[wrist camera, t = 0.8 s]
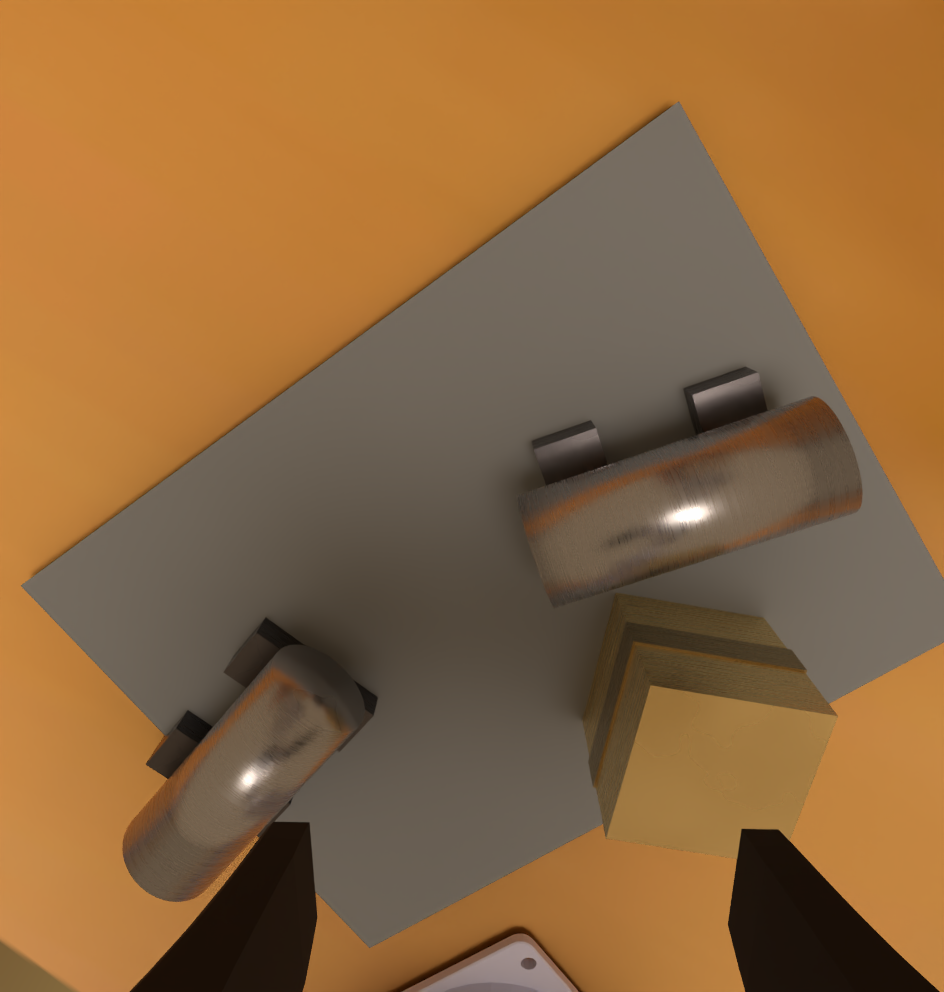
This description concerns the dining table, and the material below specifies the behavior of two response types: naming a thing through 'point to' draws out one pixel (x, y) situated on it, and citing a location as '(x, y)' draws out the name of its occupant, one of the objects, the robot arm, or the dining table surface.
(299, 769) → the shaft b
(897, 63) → the dining table surface
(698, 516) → the shaft
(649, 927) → the dining table surface
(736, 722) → the tan rectangular block
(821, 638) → the mat
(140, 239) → the dining table surface
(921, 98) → the dining table surface
